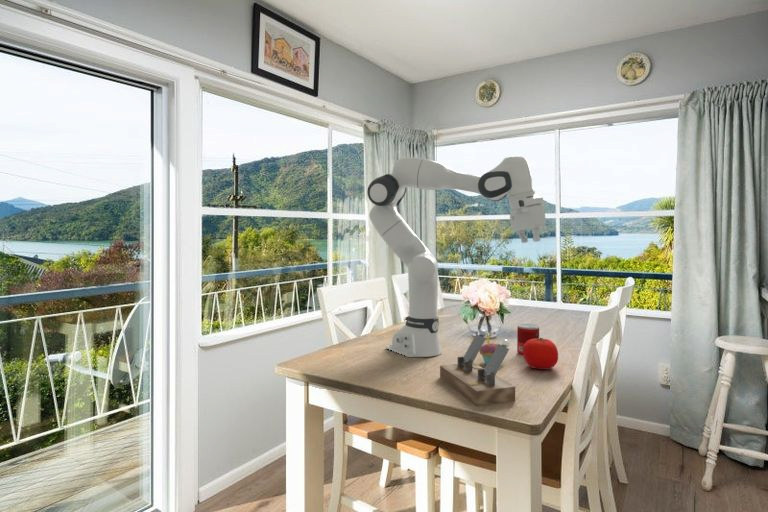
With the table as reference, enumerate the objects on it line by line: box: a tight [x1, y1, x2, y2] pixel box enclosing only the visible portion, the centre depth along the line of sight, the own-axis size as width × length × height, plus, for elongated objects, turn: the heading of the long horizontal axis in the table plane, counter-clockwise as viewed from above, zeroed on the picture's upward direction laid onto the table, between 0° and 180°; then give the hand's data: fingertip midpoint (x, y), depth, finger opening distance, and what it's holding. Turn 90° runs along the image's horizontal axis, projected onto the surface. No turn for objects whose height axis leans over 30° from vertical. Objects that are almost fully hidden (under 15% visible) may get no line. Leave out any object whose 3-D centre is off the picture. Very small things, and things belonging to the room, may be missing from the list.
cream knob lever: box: [482, 339, 510, 376], centre depth 127 cm, size 2×4×12 cm
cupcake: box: [478, 330, 498, 365], centre depth 157 cm, size 9×8×12 cm
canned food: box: [516, 323, 540, 357], centre depth 170 cm, size 8×8×11 cm
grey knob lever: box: [461, 329, 487, 363], centre depth 139 cm, size 2×4×12 cm
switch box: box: [439, 355, 516, 407], centre depth 132 cm, size 12×24×7 cm, turn 17°
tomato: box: [522, 337, 559, 370], centre depth 152 cm, size 11×12×10 cm
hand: (530, 242), depth 152 cm, fingers open, 8 cm apart
